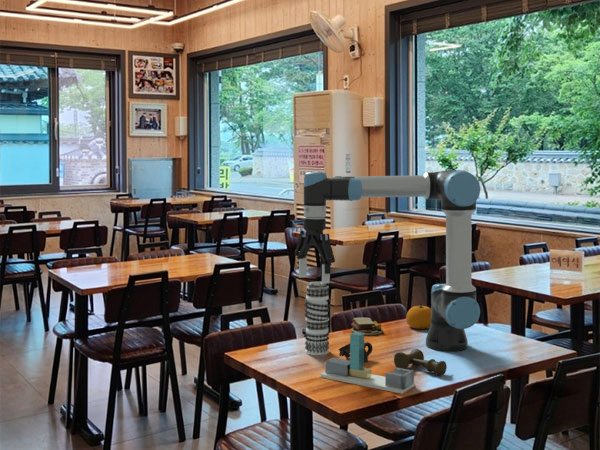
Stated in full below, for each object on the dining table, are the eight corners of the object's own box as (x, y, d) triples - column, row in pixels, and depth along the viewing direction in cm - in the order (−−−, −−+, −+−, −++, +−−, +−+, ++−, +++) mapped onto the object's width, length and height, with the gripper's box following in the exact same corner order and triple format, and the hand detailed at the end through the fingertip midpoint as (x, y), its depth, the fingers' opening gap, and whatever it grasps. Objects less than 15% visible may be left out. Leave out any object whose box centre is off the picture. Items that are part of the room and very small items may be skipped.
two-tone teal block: (328, 371, 238) (328, 330, 236) (333, 368, 240) (333, 328, 239) (366, 379, 230) (367, 336, 228) (371, 376, 232) (372, 334, 231)
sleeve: (325, 372, 237) (325, 361, 237) (333, 368, 241) (333, 357, 241) (346, 377, 233) (347, 365, 232) (354, 373, 237) (355, 361, 236)
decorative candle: (316, 347, 271) (317, 279, 269) (335, 352, 265) (335, 282, 262) (298, 351, 265) (298, 282, 262) (317, 357, 258) (317, 286, 256)
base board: (320, 377, 236) (320, 373, 236) (335, 370, 243) (335, 367, 243) (401, 393, 220) (401, 390, 220) (415, 385, 227) (415, 382, 227)
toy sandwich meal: (355, 337, 287) (355, 325, 286) (347, 328, 300) (347, 317, 300) (386, 336, 289) (386, 324, 288) (377, 327, 302) (378, 316, 301)
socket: (385, 385, 224) (385, 373, 224) (395, 380, 230) (396, 367, 229) (403, 389, 221) (403, 376, 220) (413, 383, 226) (413, 370, 226)
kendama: (433, 381, 234) (384, 365, 249) (451, 375, 241) (403, 360, 255) (434, 362, 234) (385, 348, 248) (452, 357, 240) (404, 343, 255)
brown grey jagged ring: (354, 369, 246) (343, 346, 248) (342, 374, 254) (331, 352, 256) (382, 355, 252) (371, 332, 254) (369, 360, 260) (359, 339, 262)
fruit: (438, 325, 305) (438, 301, 304) (431, 332, 294) (431, 307, 293) (410, 323, 309) (410, 299, 308) (402, 329, 299) (402, 304, 298)
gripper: (285, 215, 259) (284, 275, 261) (327, 221, 238) (326, 287, 241) (302, 214, 263) (302, 273, 265) (346, 220, 243) (345, 284, 245)
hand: (313, 280), depth 253 cm, fingers open, 13 cm apart
